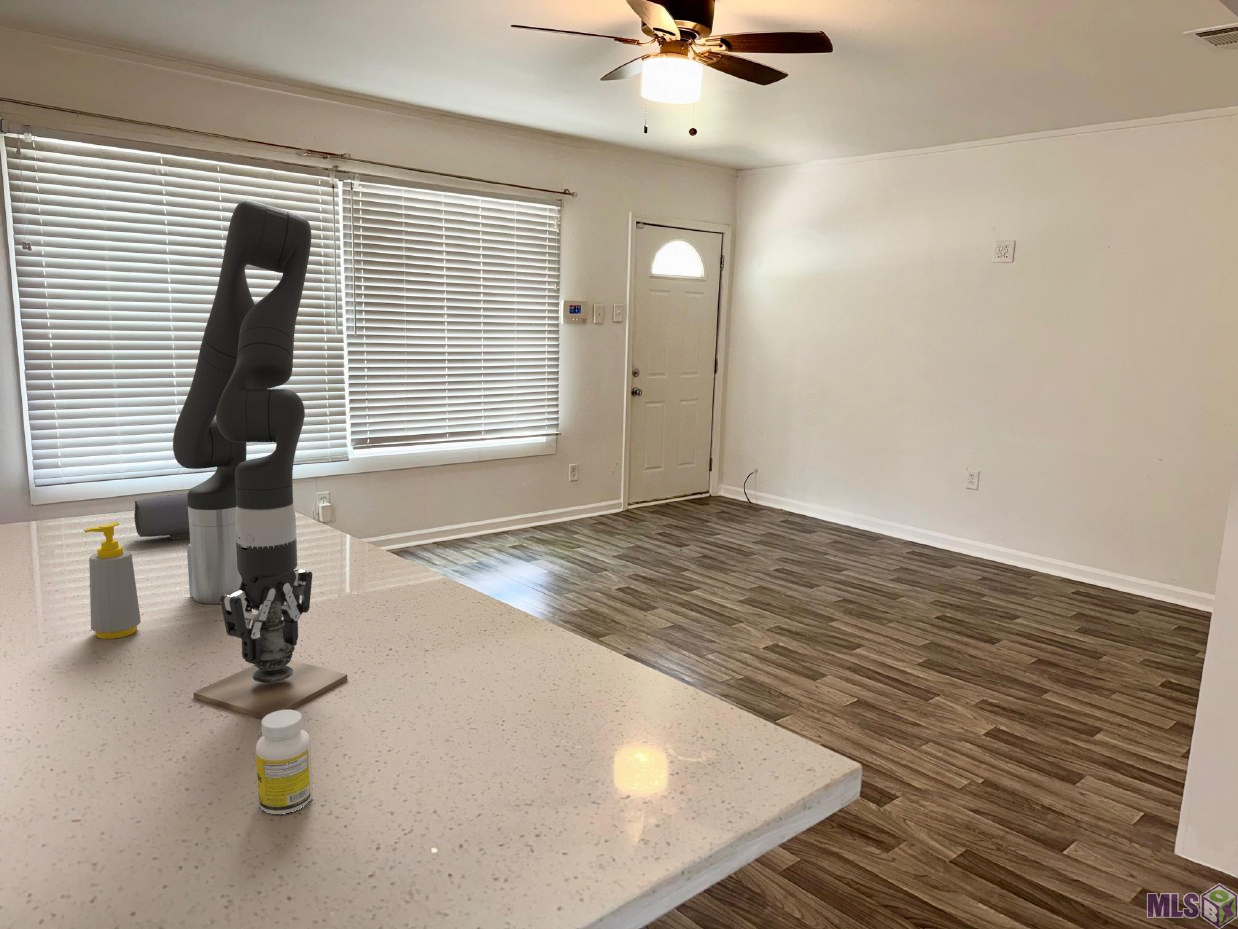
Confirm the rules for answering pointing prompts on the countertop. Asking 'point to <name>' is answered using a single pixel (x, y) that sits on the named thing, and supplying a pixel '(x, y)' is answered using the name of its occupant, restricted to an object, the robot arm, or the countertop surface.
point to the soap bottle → (112, 588)
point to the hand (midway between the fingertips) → (271, 653)
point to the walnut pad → (270, 690)
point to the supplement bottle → (283, 763)
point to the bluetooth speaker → (162, 516)
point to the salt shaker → (273, 649)
